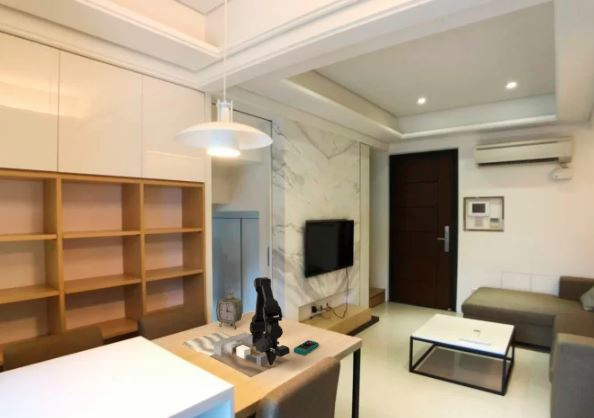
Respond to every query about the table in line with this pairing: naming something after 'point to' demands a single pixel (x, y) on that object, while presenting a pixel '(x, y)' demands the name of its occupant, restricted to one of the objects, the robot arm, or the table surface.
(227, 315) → the tabletop clock
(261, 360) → the plug
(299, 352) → the digital multimeter
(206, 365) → the table surface
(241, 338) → the motor housing
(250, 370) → the base board
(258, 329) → the robot arm
